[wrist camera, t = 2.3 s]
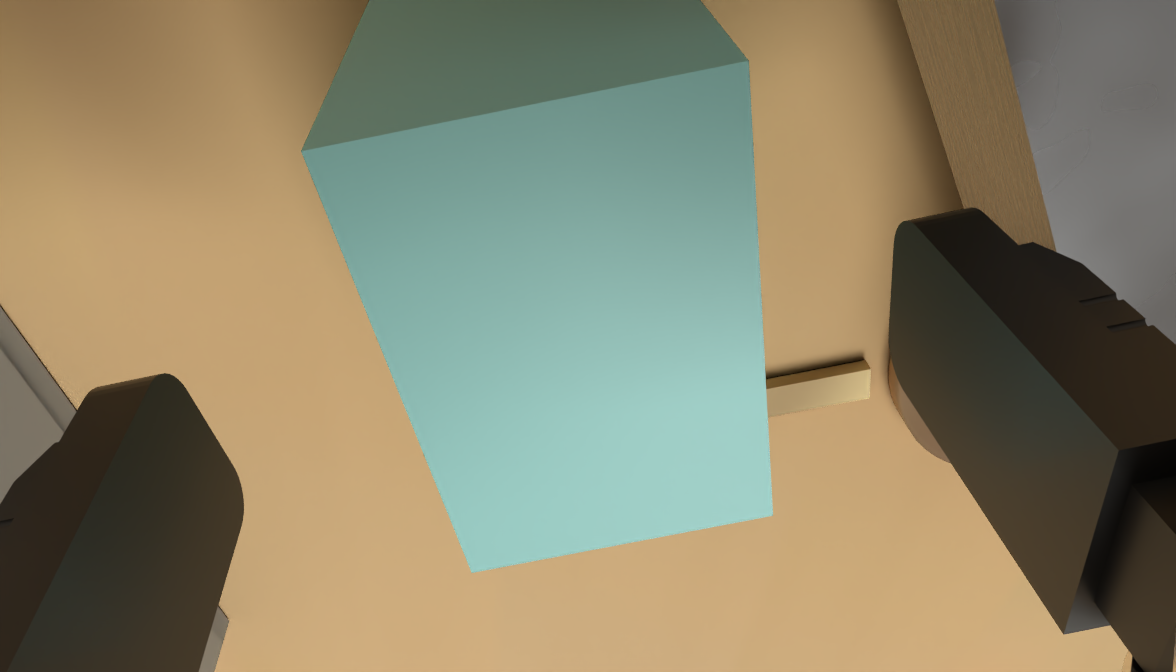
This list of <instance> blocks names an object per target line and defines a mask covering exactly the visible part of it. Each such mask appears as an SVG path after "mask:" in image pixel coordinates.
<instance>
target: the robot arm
mask: <svg viewBox="0 0 1176 672" xmlns="http://www.w3.org/2000/svg"><path fill="white" fill-rule="evenodd" d="M1145 319H1146V318H1145V317H1143V316H1142V315H1141V314H1140V313H1139V312H1138V311H1137V310H1135V309H1134V308H1133V307H1132V306H1131V305H1130V304H1128V303H1127V302H1126V301H1125V300H1124V299H1122V300H1118V299H1117V296H1116V292H1115V291H1113V290H1112V289H1111V288H1110V287H1109V286H1108V285H1106V284H1105V283H1104V282H1103V281H1102V280H1101V279H1100V278H1098V277H1097V276H1096V275H1095V274H1094V273H1093V272H1091V271H1090V270H1089V269H1088V268H1087V267H1086V266H1085V265H1083V264H1082V263H1080V262H1078V261H1076V260H1073V259H1071V258H1069V257H1067V256H1064V255H1062V254H1060V253H1057V252H1055V251H1053V250H1050V249H1048V248H1046V247H1044V246H1041V245H1039V244H1037V243H1034V242H1031V243H1026V244H1021V245H1018V244H1017V243H1016V242H1015V241H1014V240H1013V239H1012V238H1011V237H1009V236H1008V235H1007V234H1006V233H1005V232H1004V231H1003V230H1002V229H1001V228H1000V227H999V226H998V225H997V224H996V223H994V222H993V221H992V220H991V219H990V218H989V217H988V216H987V215H986V214H985V213H984V212H982V211H981V210H980V209H977V208H973V207H970V208H966V209H961V210H956V211H951V212H946V213H941V214H937V215H932V216H927V217H922V218H917V219H913V220H908V221H904V222H902V223H901V224H900V225H899V226H898V228H897V231H896V234H895V238H894V250H893V268H892V285H891V302H890V319H889V349H890V355H891V360H892V364H893V367H894V371H895V374H896V376H897V379H898V381H899V383H900V385H901V387H902V389H903V391H904V392H905V394H906V395H907V397H908V398H909V400H910V401H911V403H912V404H913V406H914V408H915V409H916V411H917V412H918V414H919V415H920V417H921V418H922V420H923V421H924V423H925V424H926V426H927V427H928V429H929V430H930V432H931V433H932V435H933V436H934V438H935V440H936V441H937V443H938V444H939V446H940V447H941V449H942V450H943V452H944V453H945V455H946V456H947V458H948V459H949V461H950V462H951V464H952V465H953V467H954V468H955V470H956V471H957V473H958V475H959V476H960V478H961V479H962V481H963V482H964V484H965V485H966V487H967V488H968V490H969V491H970V493H971V494H972V496H973V497H974V499H975V500H976V502H977V503H978V505H979V506H980V508H981V510H982V511H983V513H984V514H985V516H986V517H987V519H988V520H989V522H990V523H991V525H992V526H993V528H994V529H995V531H996V532H997V534H998V535H999V537H1000V538H1001V540H1002V541H1003V543H1004V545H1005V546H1006V548H1007V549H1008V551H1009V552H1010V554H1011V555H1012V557H1013V558H1014V560H1015V561H1016V563H1017V564H1018V566H1019V567H1020V569H1021V570H1022V572H1023V573H1024V575H1025V576H1026V578H1027V580H1028V581H1029V583H1030V584H1031V586H1032V587H1033V589H1034V590H1035V592H1036V593H1037V595H1038V596H1039V598H1040V599H1041V601H1042V602H1043V604H1044V605H1045V607H1046V608H1047V610H1048V611H1049V613H1050V615H1051V616H1052V618H1053V619H1054V621H1055V622H1056V624H1057V625H1058V627H1059V628H1060V630H1061V631H1062V633H1063V634H1069V633H1074V632H1079V631H1084V630H1089V629H1094V628H1098V627H1103V626H1108V625H1111V626H1112V628H1113V629H1114V631H1115V632H1116V633H1117V635H1118V636H1119V638H1120V639H1121V640H1122V642H1123V643H1124V645H1125V646H1126V647H1127V649H1128V652H1127V654H1126V657H1125V660H1124V663H1123V667H1122V672H1176V344H1175V343H1173V342H1172V341H1171V340H1170V339H1169V338H1168V337H1167V336H1165V335H1164V334H1163V333H1162V332H1161V331H1160V330H1158V329H1157V328H1156V327H1155V326H1154V325H1151V326H1147V324H1146V321H1145ZM243 514H244V500H243V492H242V487H241V483H240V480H239V477H238V475H237V472H236V470H235V468H234V466H233V465H232V463H231V461H230V460H229V458H228V457H227V455H226V453H225V452H224V450H223V448H222V447H221V445H220V443H219V442H218V440H217V439H216V437H215V435H214V434H213V432H212V430H211V429H210V427H209V426H208V424H207V422H206V421H205V419H204V417H203V416H202V414H201V412H200V411H199V409H198V408H197V406H196V404H195V403H194V401H193V399H192V398H191V396H190V394H189V393H188V391H187V390H186V388H185V387H184V385H183V384H182V383H181V382H180V381H179V380H178V379H177V378H176V377H174V376H172V375H170V374H166V373H164V374H158V375H153V376H149V377H144V378H139V379H134V380H129V381H125V382H120V383H115V384H110V385H105V386H101V387H97V388H94V389H92V390H91V391H90V392H89V393H88V394H87V395H86V397H85V398H84V400H83V402H82V403H81V405H80V407H79V408H78V410H77V412H76V413H75V415H74V417H73V419H72V420H71V422H70V424H69V425H68V427H67V429H66V431H65V432H64V434H63V436H62V437H61V439H60V441H59V442H56V443H54V444H53V445H52V446H51V447H50V448H49V449H47V450H46V451H45V452H44V453H43V454H42V455H41V456H40V457H39V458H38V459H37V460H36V461H35V462H34V463H33V464H32V465H31V466H30V467H29V468H28V469H27V470H26V471H25V472H24V473H23V474H22V475H21V476H19V477H18V478H17V479H16V480H15V481H14V482H13V484H12V486H11V487H10V489H9V491H8V492H7V494H6V495H5V497H4V499H3V500H2V502H1V504H0V672H199V669H200V666H201V662H202V659H203V655H204V652H205V648H206V645H207V642H208V638H209V635H210V631H211V628H212V625H213V621H214V618H215V614H216V611H217V608H218V604H219V601H220V597H221V594H222V591H223V587H224V584H225V580H226V577H227V574H228V570H229V567H230V563H231V560H232V557H233V553H234V550H235V546H236V543H237V539H238V536H239V533H240V529H241V526H242V521H243Z"/></svg>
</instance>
